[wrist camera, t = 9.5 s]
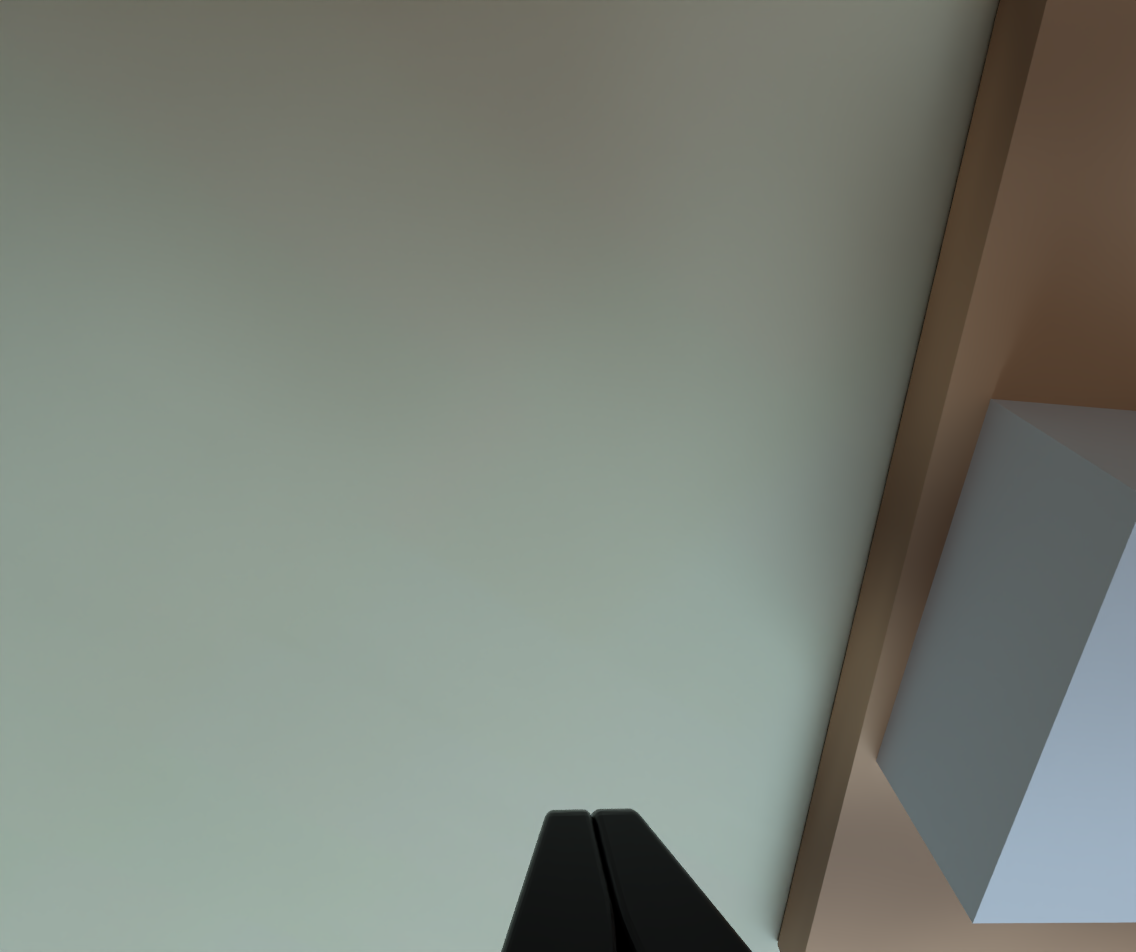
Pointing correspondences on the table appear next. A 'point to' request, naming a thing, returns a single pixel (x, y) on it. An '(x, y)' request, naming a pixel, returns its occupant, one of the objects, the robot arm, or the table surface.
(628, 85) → the table surface
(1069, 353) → the board
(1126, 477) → the blue-grey rectangular block
